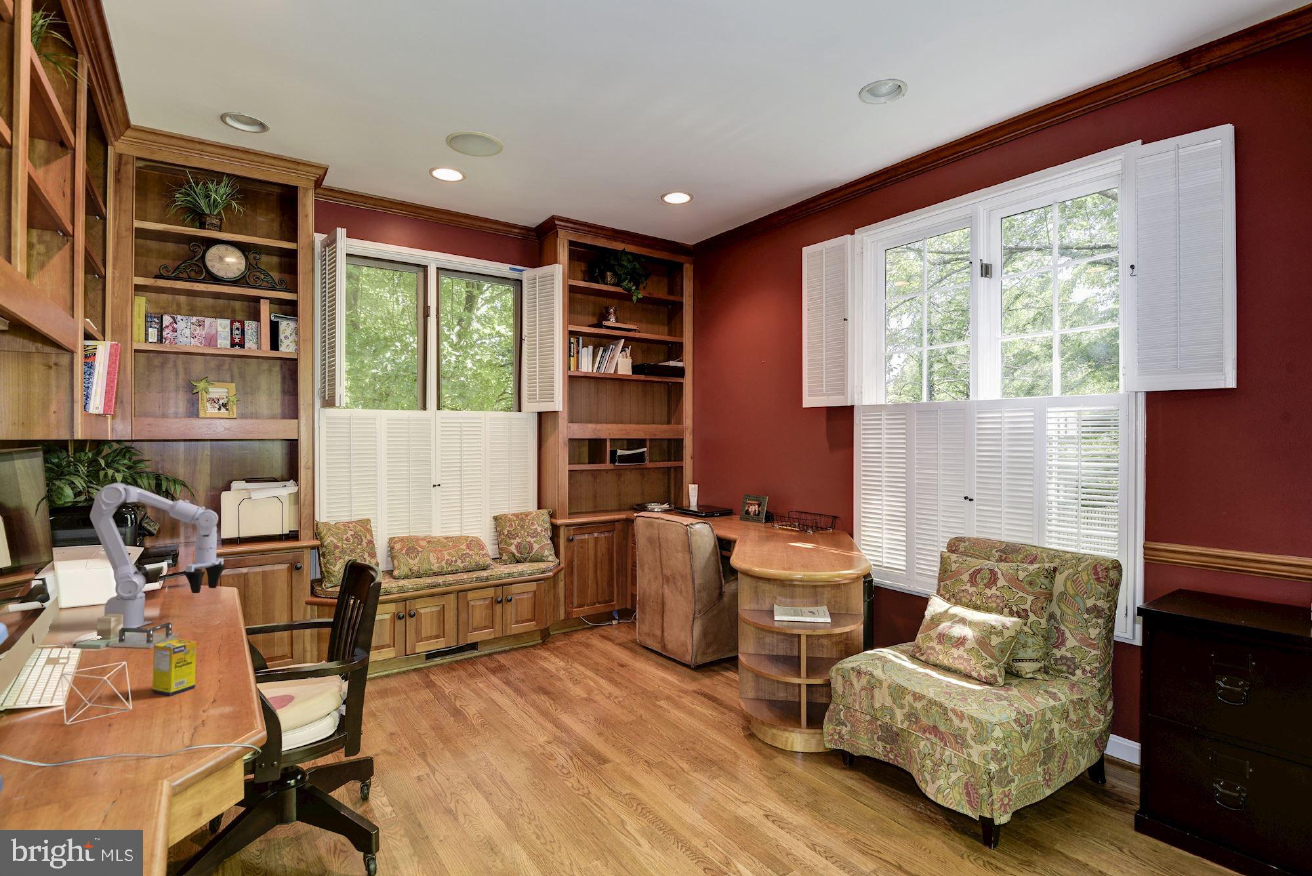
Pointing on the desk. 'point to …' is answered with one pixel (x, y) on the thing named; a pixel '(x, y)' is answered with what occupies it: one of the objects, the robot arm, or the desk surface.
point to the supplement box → (174, 666)
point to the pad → (99, 642)
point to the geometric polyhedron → (94, 690)
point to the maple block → (109, 626)
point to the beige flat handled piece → (144, 637)
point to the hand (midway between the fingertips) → (204, 590)
